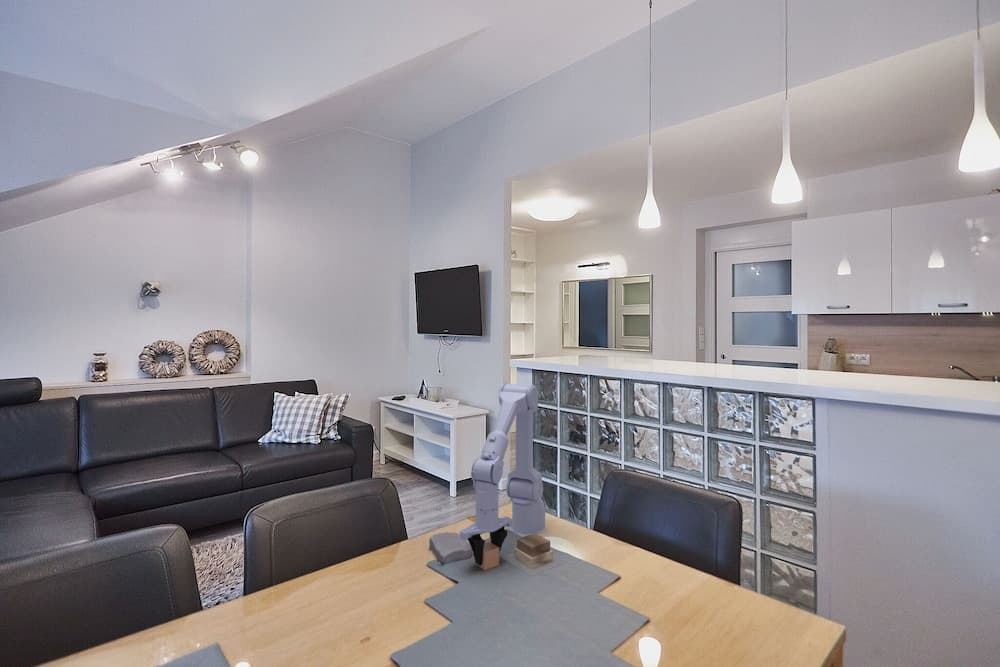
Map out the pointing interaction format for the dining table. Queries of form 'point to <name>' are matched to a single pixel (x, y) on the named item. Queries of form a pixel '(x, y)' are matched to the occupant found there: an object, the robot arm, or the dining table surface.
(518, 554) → the beech slab
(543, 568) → the felt mat
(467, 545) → the stone block
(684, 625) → the dining table surface
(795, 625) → the dining table surface
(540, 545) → the walnut slab
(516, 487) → the robot arm
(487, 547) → the terracotta block
